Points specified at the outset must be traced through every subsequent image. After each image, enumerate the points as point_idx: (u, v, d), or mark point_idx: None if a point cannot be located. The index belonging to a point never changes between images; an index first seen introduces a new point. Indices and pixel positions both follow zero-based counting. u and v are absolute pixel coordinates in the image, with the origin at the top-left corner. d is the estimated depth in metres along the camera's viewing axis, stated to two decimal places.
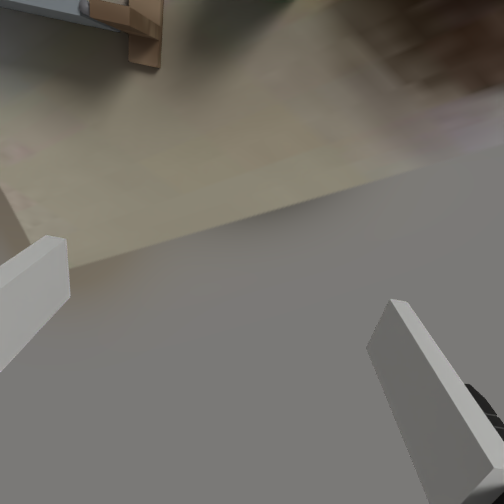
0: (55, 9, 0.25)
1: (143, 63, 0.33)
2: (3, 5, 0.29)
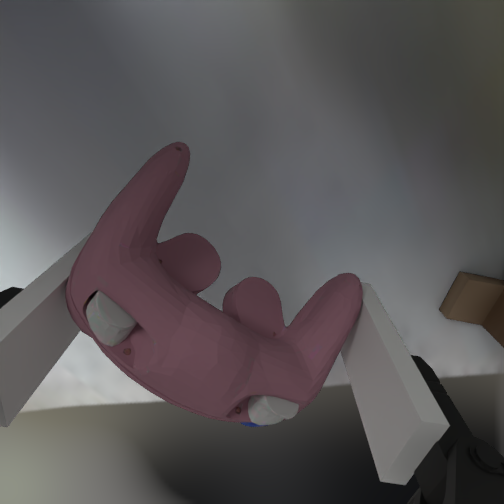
0: None
1: None
2: None
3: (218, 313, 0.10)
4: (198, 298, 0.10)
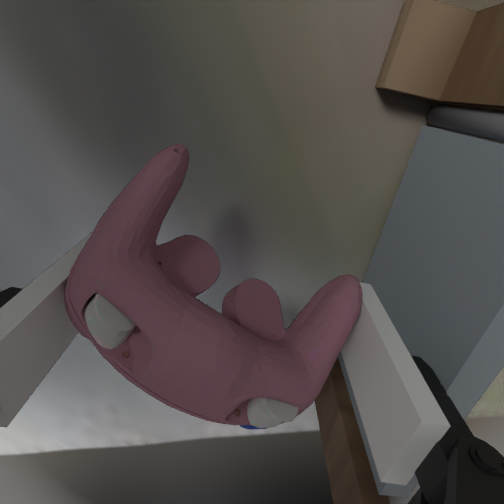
0: None
1: None
2: None
3: (218, 316, 0.10)
4: (197, 300, 0.10)
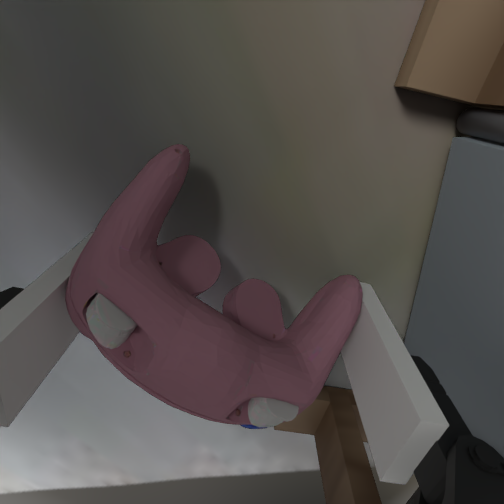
0: None
1: None
2: None
3: (218, 316, 0.10)
4: (198, 300, 0.10)
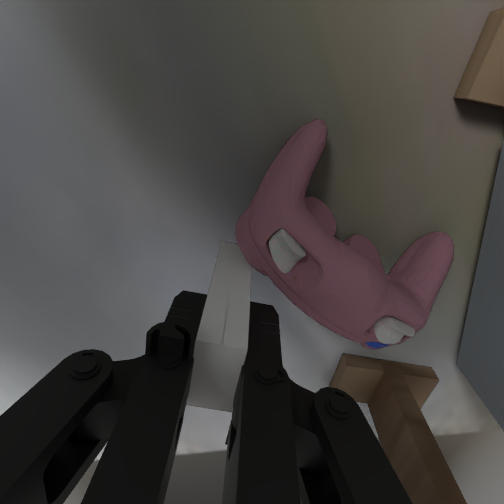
0: None
1: None
2: None
3: (358, 252, 0.13)
4: (340, 241, 0.13)
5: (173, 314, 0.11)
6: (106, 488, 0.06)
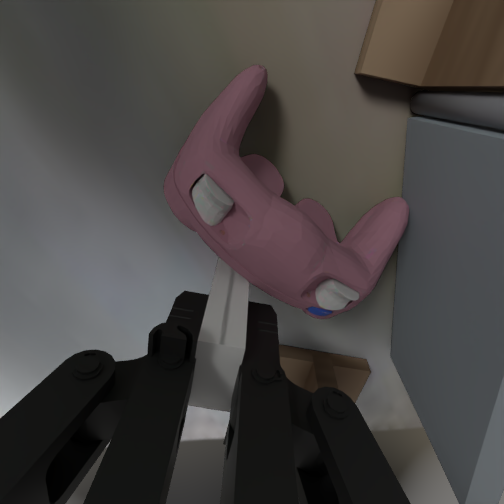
0: None
1: None
2: None
3: (296, 207, 0.11)
4: (277, 195, 0.12)
5: (175, 314, 0.11)
6: (108, 488, 0.06)
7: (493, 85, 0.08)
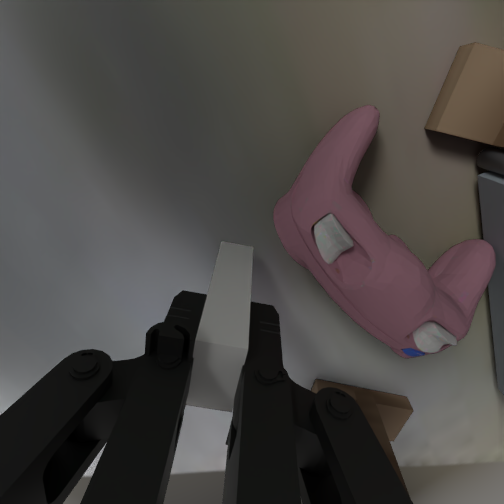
0: None
1: None
2: None
3: None
4: None
5: (173, 314, 0.11)
6: (106, 488, 0.06)
7: None
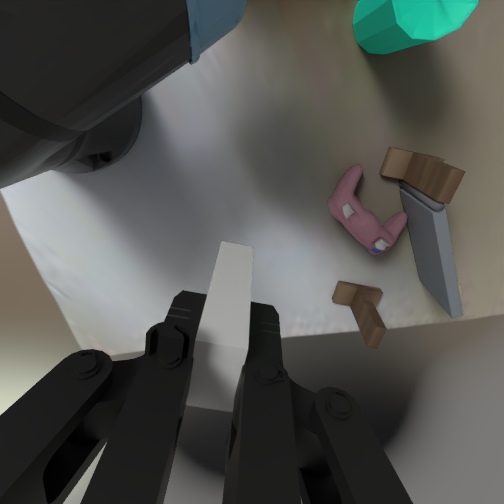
0: (447, 225, 0.31)
1: None
2: None
3: (371, 214, 0.35)
4: None
5: (173, 314, 0.11)
6: (106, 488, 0.06)
7: None
